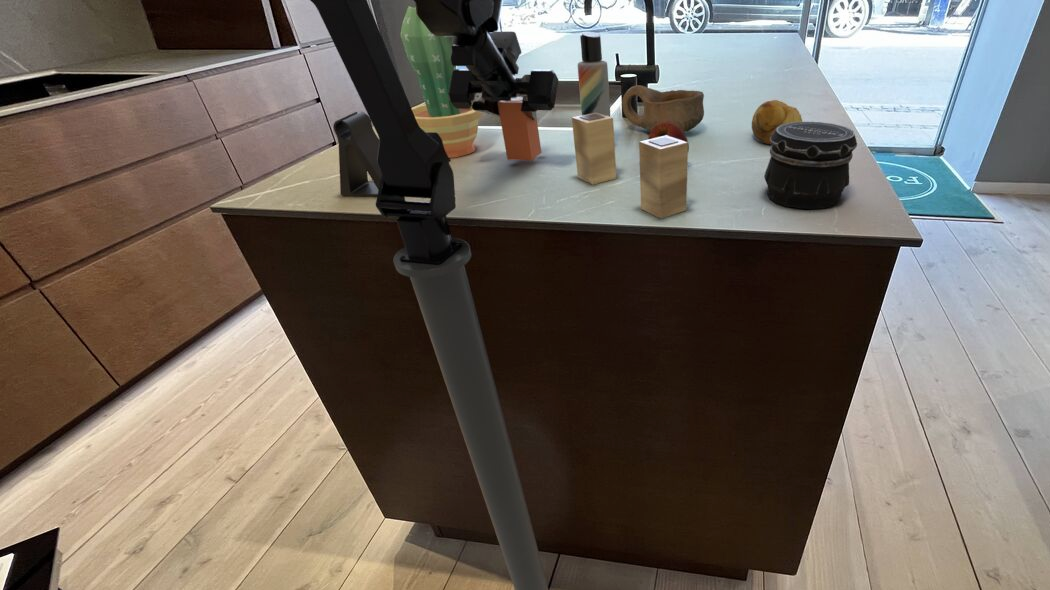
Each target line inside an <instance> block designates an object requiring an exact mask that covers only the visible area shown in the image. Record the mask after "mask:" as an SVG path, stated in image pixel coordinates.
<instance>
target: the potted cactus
mask: <svg viewBox="0 0 1050 590" xmlns="http://www.w3.org/2000/svg"><path fill="white" fill-rule="evenodd" d="M399 36H400V39H401V42H402V46H403V48H404V51H405V54H406V57H407V60H408V62H409V64H410V66H411V68H412V70H414V73H415V74H416V77H417V80H418V83H419V84H418V85H419V87H420V90H421V93H422V97H423V101H424V103H425V104H420V105H415V106H413V107H411V109H412V111H413V113H414V116H415V118H416V121H417V123H418V125H419V127H420V128H421V129H422V130H424V131H425V132H436V133H438V135H439V136H440V137H441V139H442V142H443V145H444V149H445V151H446V153H447V155H448V157H449V158H450V159H451V158H459V157H463V156H467V155H470V154H471V153H473V152H475V151H476V148H475V147H476V146H475V144H474V142H475V140H476V137H477V135H478V130H479V121H480V119H481V118H482V117H483V116H482V115H483V112H481V111H475V110H473V109H472V106H471V107H470V109H459V108H455V106H454V105H453V104H452V103H451V102H450V100H449V97H448V92H449V86H450V81H451V76H452V72H453V70H456V69H457V68H456V67H457V66H453V65H452V64H451V53H452V48H451V47H452V46H451V41H452V36H435V35H433V34H432V33H431V32H430V31H429V30H428V28H427V27H426V26H425V24H424V23H423V22H422V21H421V19H420V18H419V17H418V15H417V14H416V6H415V7H412V6H409V5H408V6H407V10H406V12H405V15H404V18H403V20H402V24H401V28H400V35H399Z"/></svg>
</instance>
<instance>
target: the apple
mask: <svg viewBox="0 0 1050 590" xmlns="http://www.w3.org/2000/svg"><path fill="white" fill-rule="evenodd" d="M665 135H667V136H670V137H673V138H676V139H679V140H682V141H685V142H688V152H689V149H690V146H689V140H688V137H687V135H686V134H685V132H683V131H682V129H681V128H679V127H678V126H677V125H675V124H673V123H670V122H661V123H659V124H657V125H656V126H655V127H654V128H653V129H652V131H650V133H649V134H648V137H647V140H648V139H653V138H657V137H661V136H665Z"/></svg>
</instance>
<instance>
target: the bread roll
mask: <svg viewBox="0 0 1050 590" xmlns="http://www.w3.org/2000/svg"><path fill="white" fill-rule="evenodd" d="M793 122H803V118H802V114H801V113H800V111H799V110H798V109H797V107H793V106H791V105H788V104H787V103H785V102H783V101H782V100H781V101H780V100H778V99H772V100H768V101H765V102H763V103H761V104H760V105H759V106H758V107H757V109H755V111H754V113H753V115H752V120H751V130H752V133H753V135H754V137H755V138H756V140H757V141H760V142H761V143H763V144H766V145H772V144H771V142H770V138H771V134H772V133H773V132H774V131H775V130H776V128H777V127H778V126H780V125H782V124H787V123H793Z"/></svg>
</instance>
